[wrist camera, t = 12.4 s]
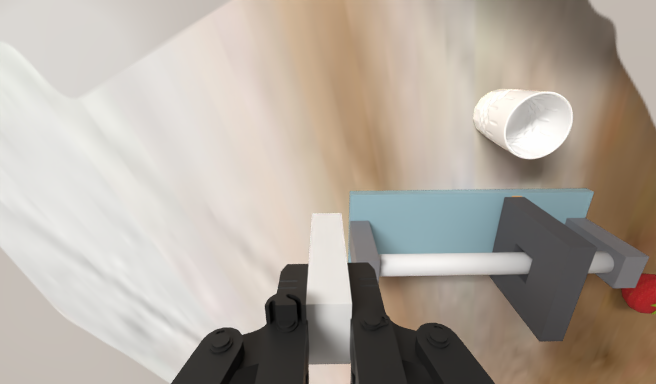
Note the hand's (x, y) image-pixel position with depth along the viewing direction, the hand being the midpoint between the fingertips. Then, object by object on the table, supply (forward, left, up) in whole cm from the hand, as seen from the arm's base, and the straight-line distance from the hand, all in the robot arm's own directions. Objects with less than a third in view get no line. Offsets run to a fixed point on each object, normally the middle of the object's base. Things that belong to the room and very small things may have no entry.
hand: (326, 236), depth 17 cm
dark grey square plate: (+18, +29, -29) cm, 45 cm away
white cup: (-1, +25, -33) cm, 41 cm away
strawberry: (+28, +54, -33) cm, 69 cm away
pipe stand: (+18, +23, -32) cm, 44 cm away
